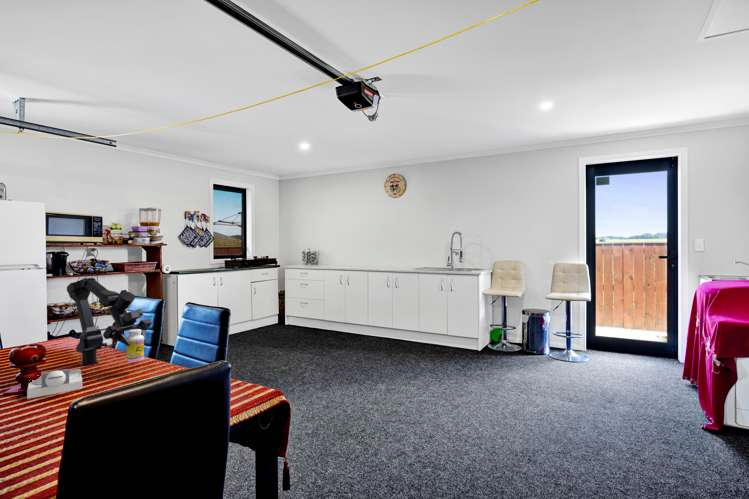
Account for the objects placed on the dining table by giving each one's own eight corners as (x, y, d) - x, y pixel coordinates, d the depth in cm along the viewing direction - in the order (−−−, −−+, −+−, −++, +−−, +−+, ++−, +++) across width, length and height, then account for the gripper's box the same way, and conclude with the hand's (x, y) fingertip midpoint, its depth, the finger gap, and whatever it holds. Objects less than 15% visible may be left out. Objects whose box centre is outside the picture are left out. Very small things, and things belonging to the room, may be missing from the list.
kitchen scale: (30, 384, 160) (30, 363, 160) (80, 375, 170) (80, 355, 170) (27, 399, 143) (26, 375, 143) (82, 389, 153) (82, 367, 153)
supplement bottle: (135, 362, 169) (135, 332, 169) (122, 361, 171) (122, 331, 171) (147, 358, 176) (147, 328, 176) (134, 357, 177) (134, 328, 177)
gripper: (106, 307, 166) (124, 336, 162) (149, 301, 183) (165, 327, 179) (95, 324, 170) (112, 353, 165) (138, 317, 187) (154, 343, 182)
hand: (137, 343), depth 173 cm, fingers closed on supplement bottle, 7 cm apart
